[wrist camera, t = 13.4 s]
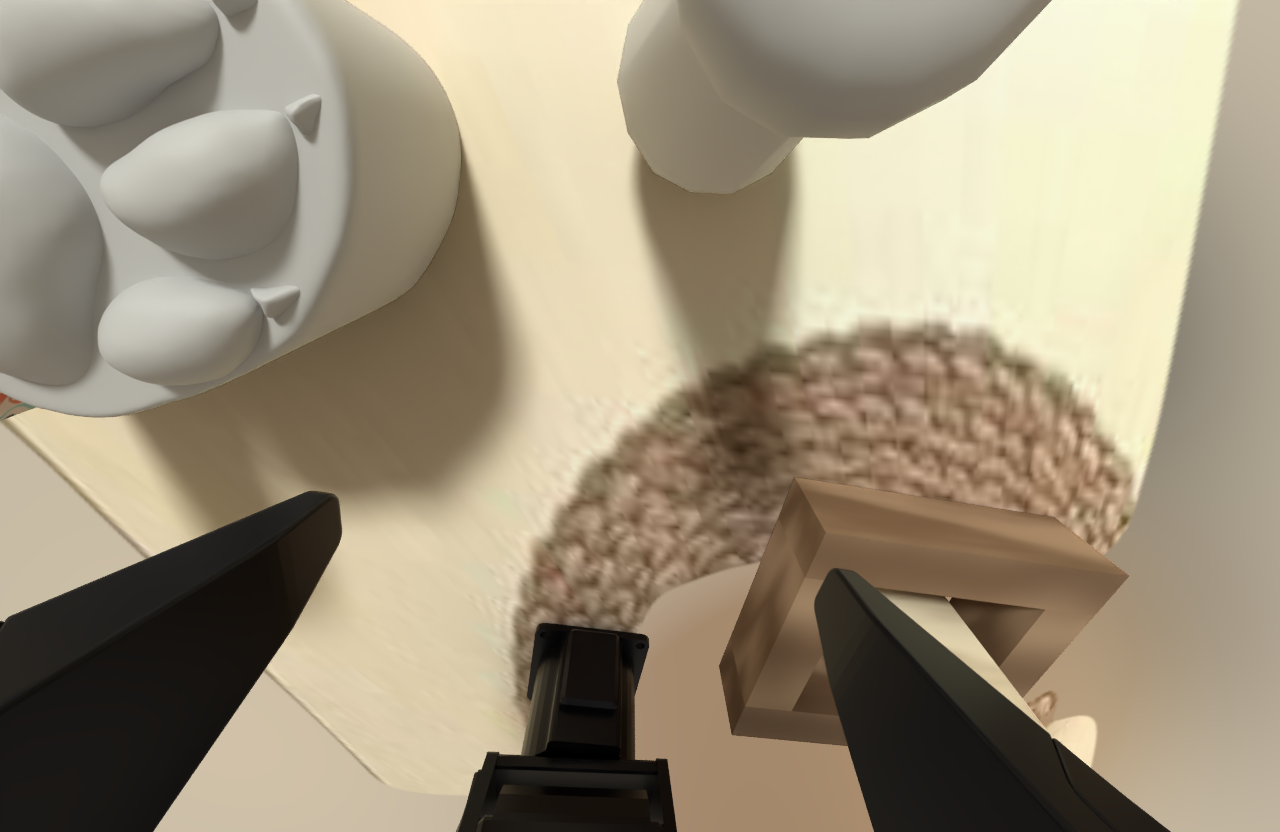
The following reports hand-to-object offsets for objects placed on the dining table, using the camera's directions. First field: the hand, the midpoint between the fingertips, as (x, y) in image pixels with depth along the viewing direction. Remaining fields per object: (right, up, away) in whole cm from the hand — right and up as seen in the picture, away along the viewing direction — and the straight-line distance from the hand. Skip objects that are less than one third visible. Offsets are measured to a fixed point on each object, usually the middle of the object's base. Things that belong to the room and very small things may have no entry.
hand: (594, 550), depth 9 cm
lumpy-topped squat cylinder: (-12, +11, +8) cm, 18 cm away
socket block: (+14, -8, +18) cm, 24 cm away
